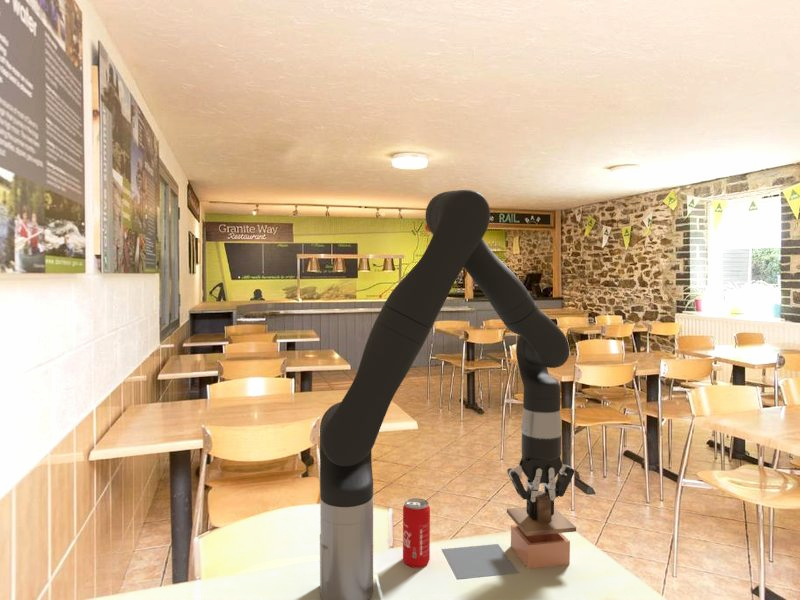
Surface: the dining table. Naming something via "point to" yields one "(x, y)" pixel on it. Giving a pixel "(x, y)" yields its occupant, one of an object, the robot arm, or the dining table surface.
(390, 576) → the dining table surface
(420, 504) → the beverage can
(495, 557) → the mat
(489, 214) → the robot arm
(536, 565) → the open salmon box
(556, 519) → the lid
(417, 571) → the dining table surface
